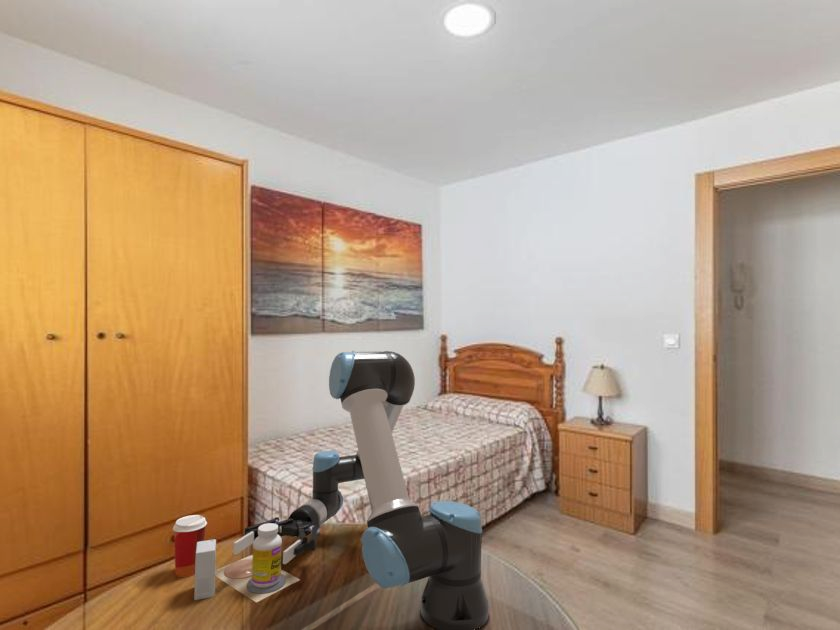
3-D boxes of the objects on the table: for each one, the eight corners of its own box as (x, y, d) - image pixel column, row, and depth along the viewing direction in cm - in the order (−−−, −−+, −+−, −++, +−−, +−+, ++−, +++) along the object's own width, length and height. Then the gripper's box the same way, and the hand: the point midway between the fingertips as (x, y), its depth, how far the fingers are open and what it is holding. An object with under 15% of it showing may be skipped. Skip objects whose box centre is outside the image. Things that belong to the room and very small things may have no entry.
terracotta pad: (269, 568, 115) (269, 566, 115) (236, 583, 108) (236, 581, 108) (249, 557, 121) (249, 555, 121) (216, 570, 114) (217, 569, 114)
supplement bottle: (271, 590, 105) (273, 534, 105) (245, 587, 106) (247, 531, 107) (285, 575, 111) (287, 522, 112) (261, 572, 113) (263, 520, 113)
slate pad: (293, 581, 109) (293, 580, 109) (261, 598, 102) (261, 597, 102) (271, 569, 115) (271, 568, 115) (238, 584, 108) (239, 583, 108)
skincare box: (194, 593, 106) (196, 541, 107) (214, 589, 108) (216, 538, 109) (193, 607, 101) (195, 553, 101) (214, 603, 103) (216, 549, 103)
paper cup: (195, 565, 119) (197, 511, 119) (211, 575, 114) (213, 519, 115) (164, 578, 112) (166, 521, 113) (179, 589, 108) (182, 529, 108)
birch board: (300, 586, 110) (300, 579, 110) (256, 609, 101) (256, 602, 101) (253, 559, 122) (253, 554, 122) (209, 578, 113) (210, 572, 113)
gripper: (347, 538, 122) (305, 579, 102) (268, 525, 130) (214, 560, 109) (348, 510, 122) (306, 545, 102) (269, 499, 130) (216, 529, 110)
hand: (259, 553), depth 106 cm, fingers open, 13 cm apart
